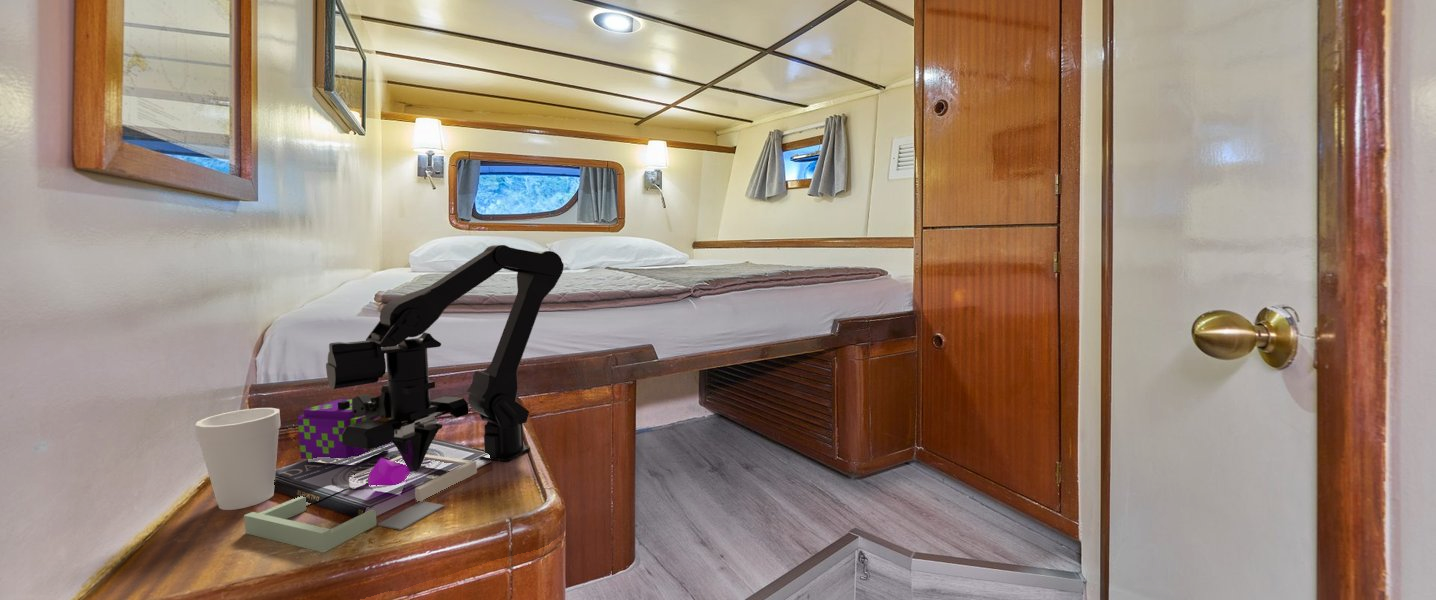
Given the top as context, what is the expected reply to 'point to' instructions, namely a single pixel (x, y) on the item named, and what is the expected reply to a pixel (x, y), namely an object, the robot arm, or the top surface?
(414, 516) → the mat
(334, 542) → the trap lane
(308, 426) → the toy
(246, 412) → the foam cup
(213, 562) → the top surface
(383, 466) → the crystal
